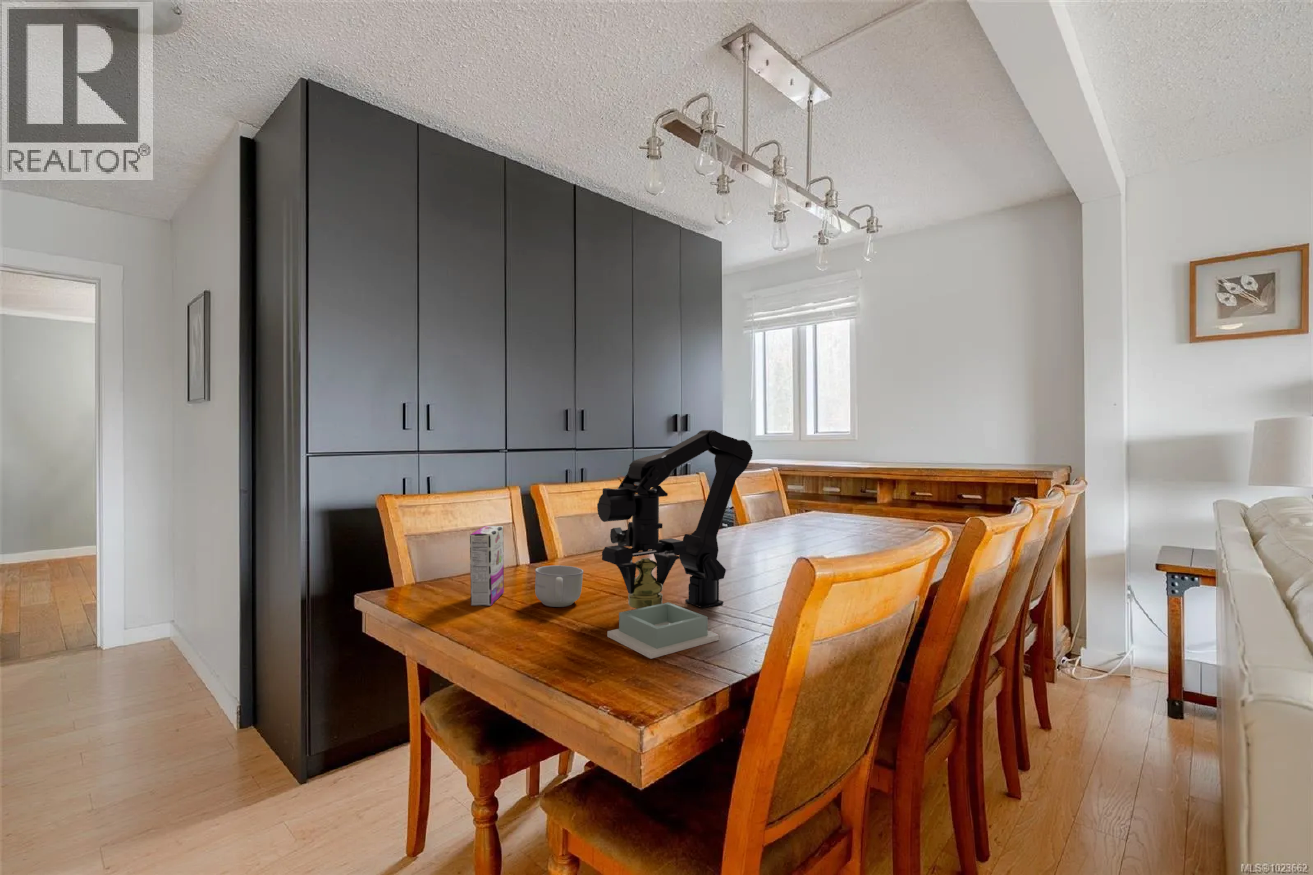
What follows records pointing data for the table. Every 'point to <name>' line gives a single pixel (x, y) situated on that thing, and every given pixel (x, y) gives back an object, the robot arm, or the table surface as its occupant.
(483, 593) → the candy bar box
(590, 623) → the table surface
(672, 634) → the grey green tray
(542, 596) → the teacup
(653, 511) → the robot arm
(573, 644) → the table surface
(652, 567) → the gold rounded piece
